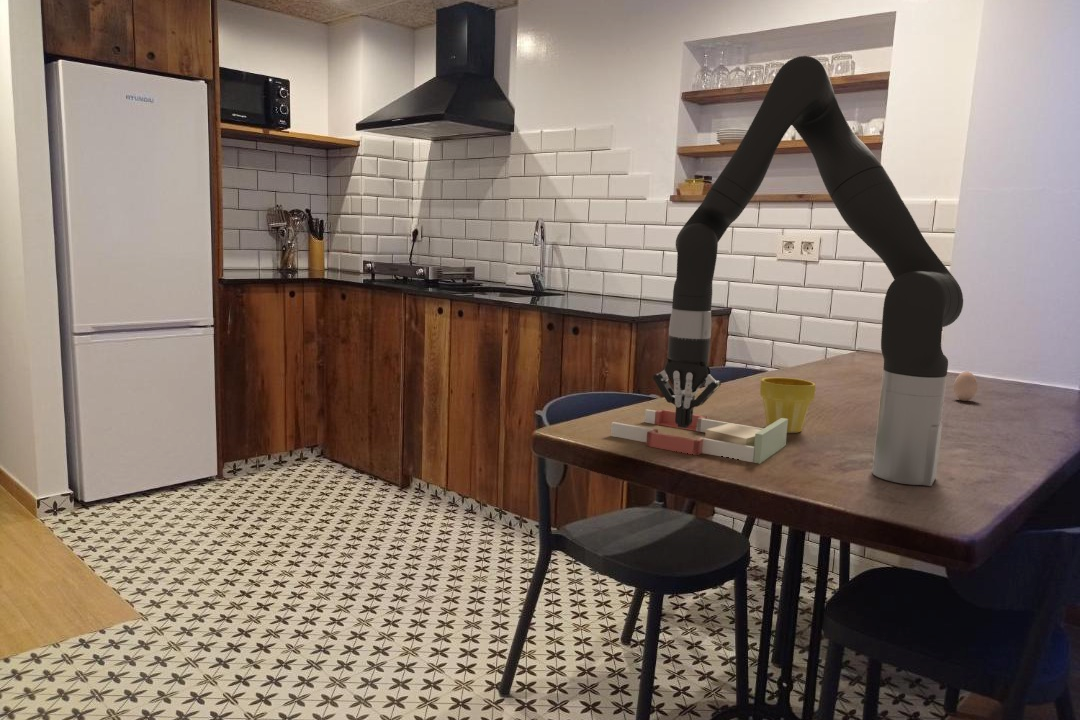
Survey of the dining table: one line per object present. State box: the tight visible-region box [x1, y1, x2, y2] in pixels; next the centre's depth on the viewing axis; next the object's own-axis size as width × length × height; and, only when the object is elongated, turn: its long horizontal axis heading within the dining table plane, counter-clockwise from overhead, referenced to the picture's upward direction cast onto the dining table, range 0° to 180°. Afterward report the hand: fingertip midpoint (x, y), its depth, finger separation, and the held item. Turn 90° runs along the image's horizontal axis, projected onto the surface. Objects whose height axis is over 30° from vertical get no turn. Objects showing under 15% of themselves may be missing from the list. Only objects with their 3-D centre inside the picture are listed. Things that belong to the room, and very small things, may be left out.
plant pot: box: [759, 376, 816, 434], centre depth 161 cm, size 10×10×10 cm
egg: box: [952, 371, 979, 402], centre depth 202 cm, size 5×5×7 cm
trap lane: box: [610, 408, 788, 465], centre depth 149 cm, size 28×20×5 cm
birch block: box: [704, 422, 760, 447], centre depth 143 cm, size 8×8×4 cm
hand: (683, 426), depth 151 cm, fingers closed
